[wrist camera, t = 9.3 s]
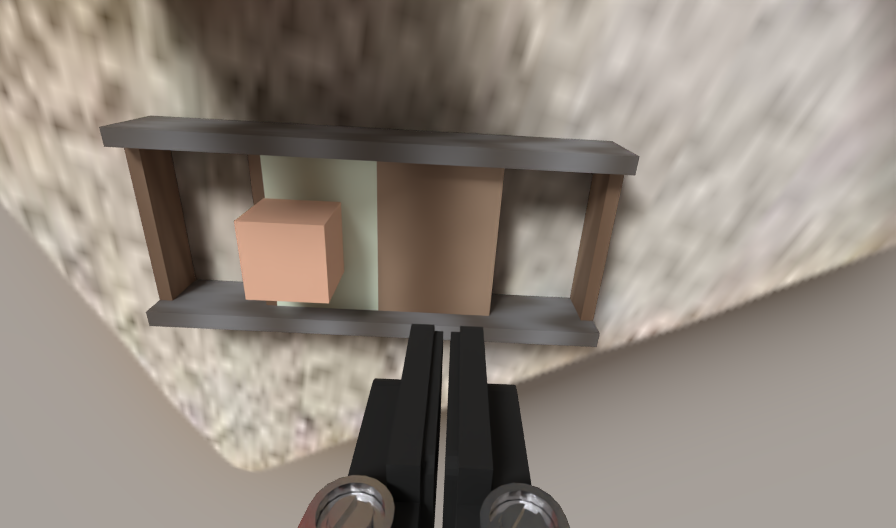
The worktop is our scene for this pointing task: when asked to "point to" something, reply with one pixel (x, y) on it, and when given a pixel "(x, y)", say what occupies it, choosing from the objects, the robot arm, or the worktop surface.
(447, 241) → the box
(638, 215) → the worktop surface
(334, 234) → the terracotta block
